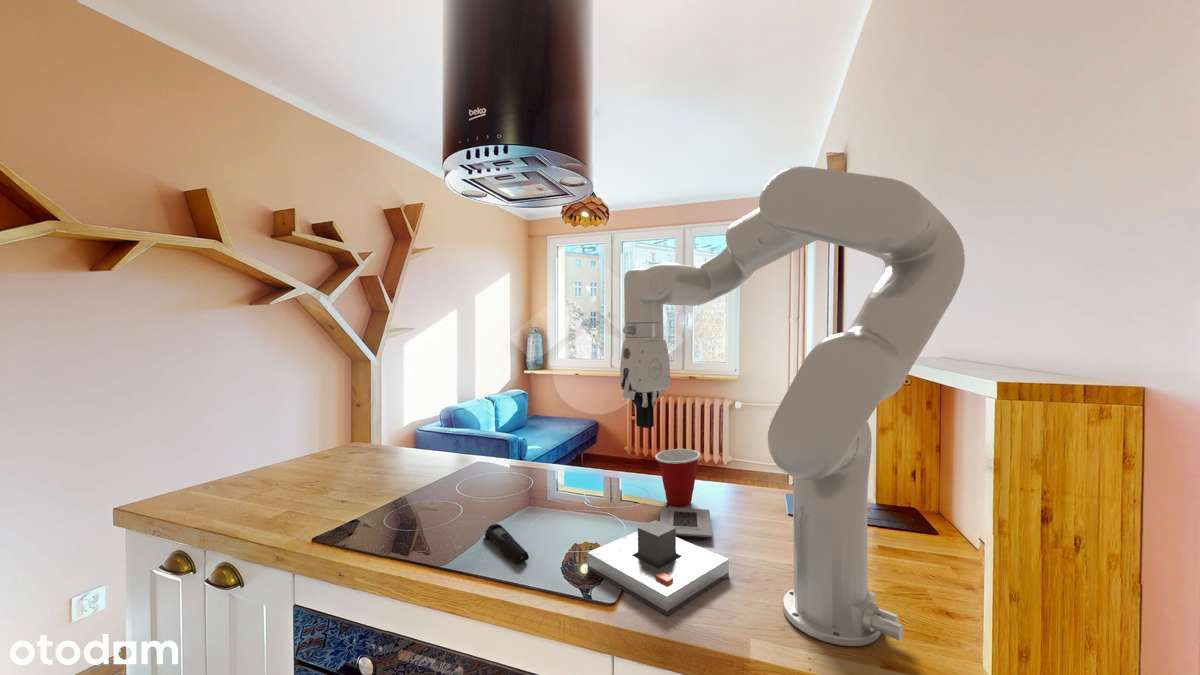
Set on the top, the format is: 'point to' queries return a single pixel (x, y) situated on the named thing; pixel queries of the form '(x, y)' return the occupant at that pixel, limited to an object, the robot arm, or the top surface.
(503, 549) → the electric trimmer
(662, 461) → the plastic cup
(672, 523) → the electrical outlet
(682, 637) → the top surface
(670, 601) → the socket plate
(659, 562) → the block
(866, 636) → the robot arm
